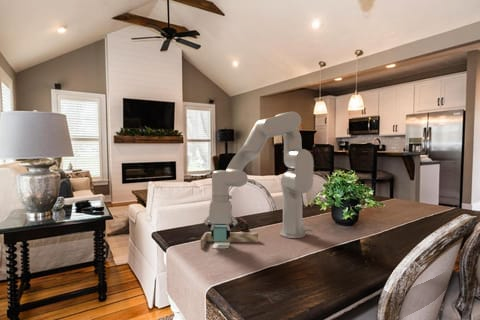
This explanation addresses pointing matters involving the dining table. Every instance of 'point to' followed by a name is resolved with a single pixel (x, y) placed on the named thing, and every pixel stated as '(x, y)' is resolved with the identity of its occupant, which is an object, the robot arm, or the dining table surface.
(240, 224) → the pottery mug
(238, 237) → the wooden l-shaped bar
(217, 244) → the pad
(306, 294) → the dining table surface
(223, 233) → the cube
